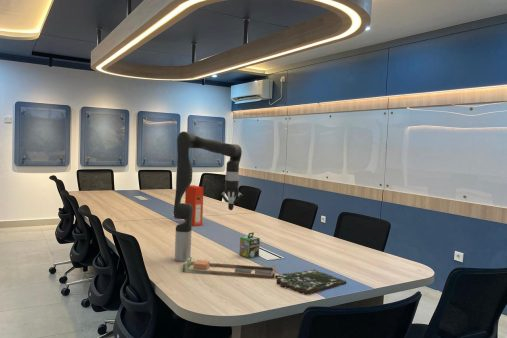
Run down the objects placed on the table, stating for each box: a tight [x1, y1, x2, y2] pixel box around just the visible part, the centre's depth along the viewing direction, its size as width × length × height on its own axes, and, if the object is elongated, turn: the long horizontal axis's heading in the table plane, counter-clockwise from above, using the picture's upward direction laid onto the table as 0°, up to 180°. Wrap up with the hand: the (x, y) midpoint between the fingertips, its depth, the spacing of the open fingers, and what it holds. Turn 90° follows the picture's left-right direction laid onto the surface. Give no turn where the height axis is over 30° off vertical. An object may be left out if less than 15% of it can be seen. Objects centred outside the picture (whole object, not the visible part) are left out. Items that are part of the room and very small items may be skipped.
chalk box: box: [239, 232, 261, 259], centre depth 249 cm, size 9×9×15 cm
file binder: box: [184, 184, 204, 227], centre depth 335 cm, size 8×17×32 cm, turn 36°
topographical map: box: [274, 269, 347, 296], centre depth 206 cm, size 26×33×3 cm
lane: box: [182, 256, 276, 279], centre depth 217 cm, size 14×49×4 cm, turn 86°
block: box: [193, 259, 211, 270], centre depth 219 cm, size 7×7×4 cm
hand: (230, 209), depth 226 cm, fingers closed
